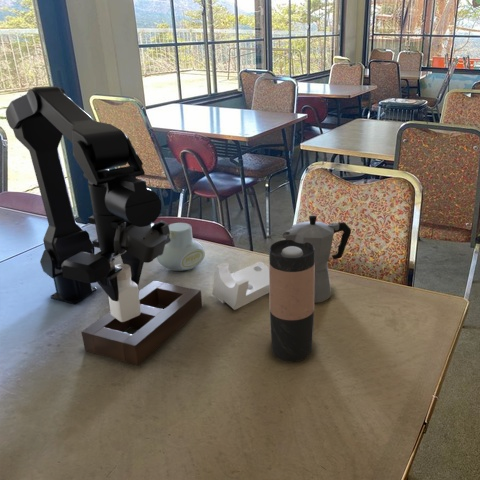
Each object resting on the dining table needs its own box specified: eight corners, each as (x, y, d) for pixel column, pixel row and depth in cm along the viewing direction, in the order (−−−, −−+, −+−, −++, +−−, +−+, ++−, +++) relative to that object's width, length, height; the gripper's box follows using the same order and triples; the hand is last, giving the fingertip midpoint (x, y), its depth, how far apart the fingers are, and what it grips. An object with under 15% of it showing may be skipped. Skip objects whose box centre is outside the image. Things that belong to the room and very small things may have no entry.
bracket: (233, 313, 98) (238, 285, 94) (212, 294, 101) (216, 266, 97) (279, 290, 107) (285, 263, 103) (257, 273, 110) (263, 246, 106)
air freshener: (188, 253, 121) (185, 216, 117) (211, 262, 117) (208, 224, 113) (152, 268, 113) (147, 229, 109) (174, 279, 109) (170, 238, 105)
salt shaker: (130, 307, 88) (124, 260, 84) (142, 315, 86) (137, 267, 82) (109, 315, 85) (102, 267, 81) (121, 324, 83) (115, 275, 79)
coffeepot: (289, 309, 98) (290, 227, 91) (275, 288, 106) (274, 211, 99) (356, 296, 104) (362, 218, 97) (338, 276, 112) (342, 203, 105)
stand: (84, 350, 84) (81, 331, 82) (156, 297, 101) (154, 280, 100) (138, 365, 81) (135, 345, 79) (202, 307, 98) (200, 290, 96)
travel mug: (280, 368, 81) (279, 261, 73) (264, 343, 87) (261, 243, 79) (320, 355, 84) (323, 253, 76) (301, 333, 91) (303, 235, 83)
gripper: (112, 238, 67) (127, 332, 73) (188, 198, 83) (195, 278, 89) (49, 226, 70) (69, 317, 76) (135, 190, 86) (145, 268, 92)
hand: (125, 293), depth 83 cm, fingers closed on salt shaker, 5 cm apart
